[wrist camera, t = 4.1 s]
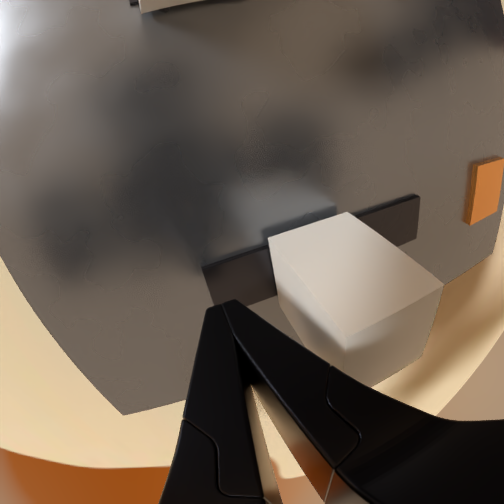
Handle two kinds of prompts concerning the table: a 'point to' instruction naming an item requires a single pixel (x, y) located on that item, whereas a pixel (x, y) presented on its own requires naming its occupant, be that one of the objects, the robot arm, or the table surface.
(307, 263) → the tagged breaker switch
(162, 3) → the switch
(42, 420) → the table surface
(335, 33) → the breaker panel
